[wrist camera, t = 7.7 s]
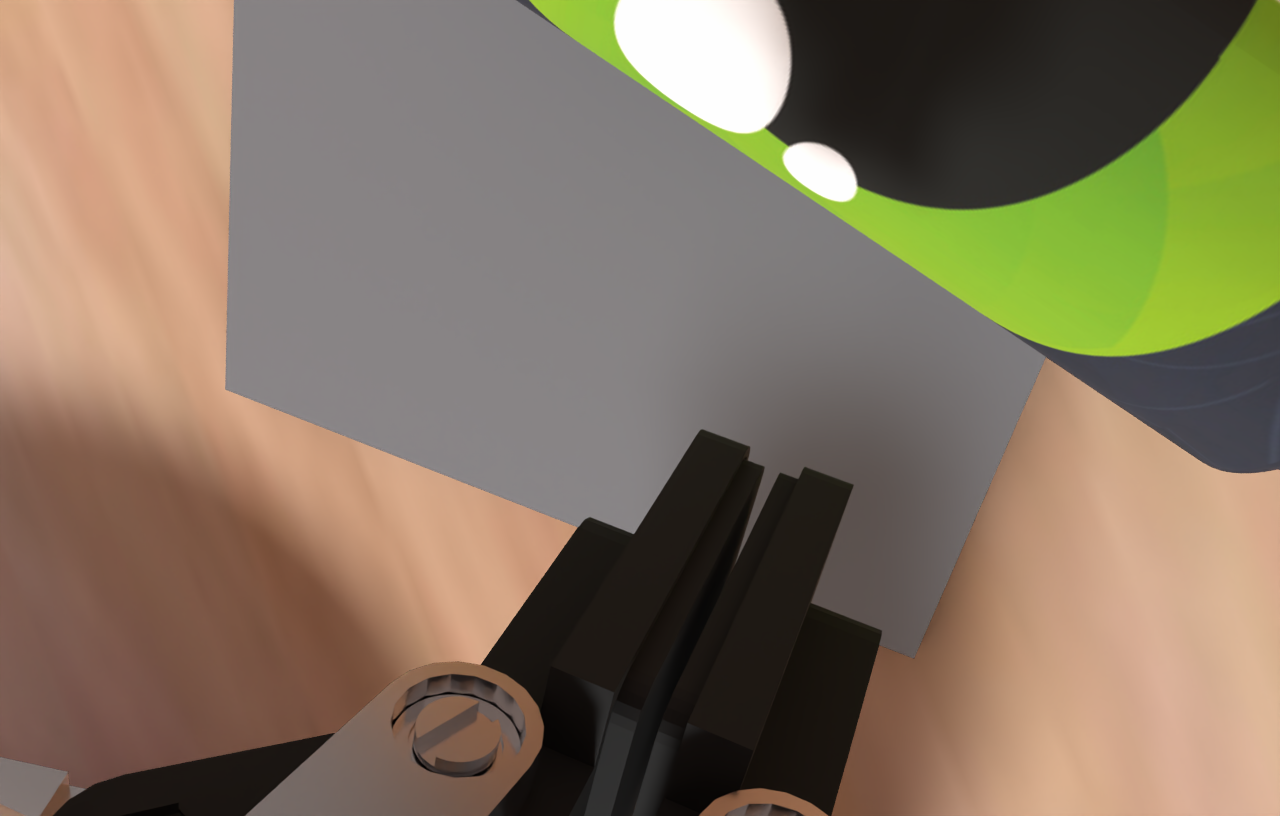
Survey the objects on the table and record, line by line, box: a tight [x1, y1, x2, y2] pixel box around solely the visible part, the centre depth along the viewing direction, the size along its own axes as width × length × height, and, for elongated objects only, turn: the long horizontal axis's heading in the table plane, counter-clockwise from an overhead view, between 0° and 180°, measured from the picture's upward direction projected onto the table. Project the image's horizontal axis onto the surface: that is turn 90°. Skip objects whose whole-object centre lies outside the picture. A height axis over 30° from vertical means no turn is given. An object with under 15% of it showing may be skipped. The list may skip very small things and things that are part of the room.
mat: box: [225, 0, 1046, 659], centre depth 22 cm, size 16×16×1 cm
